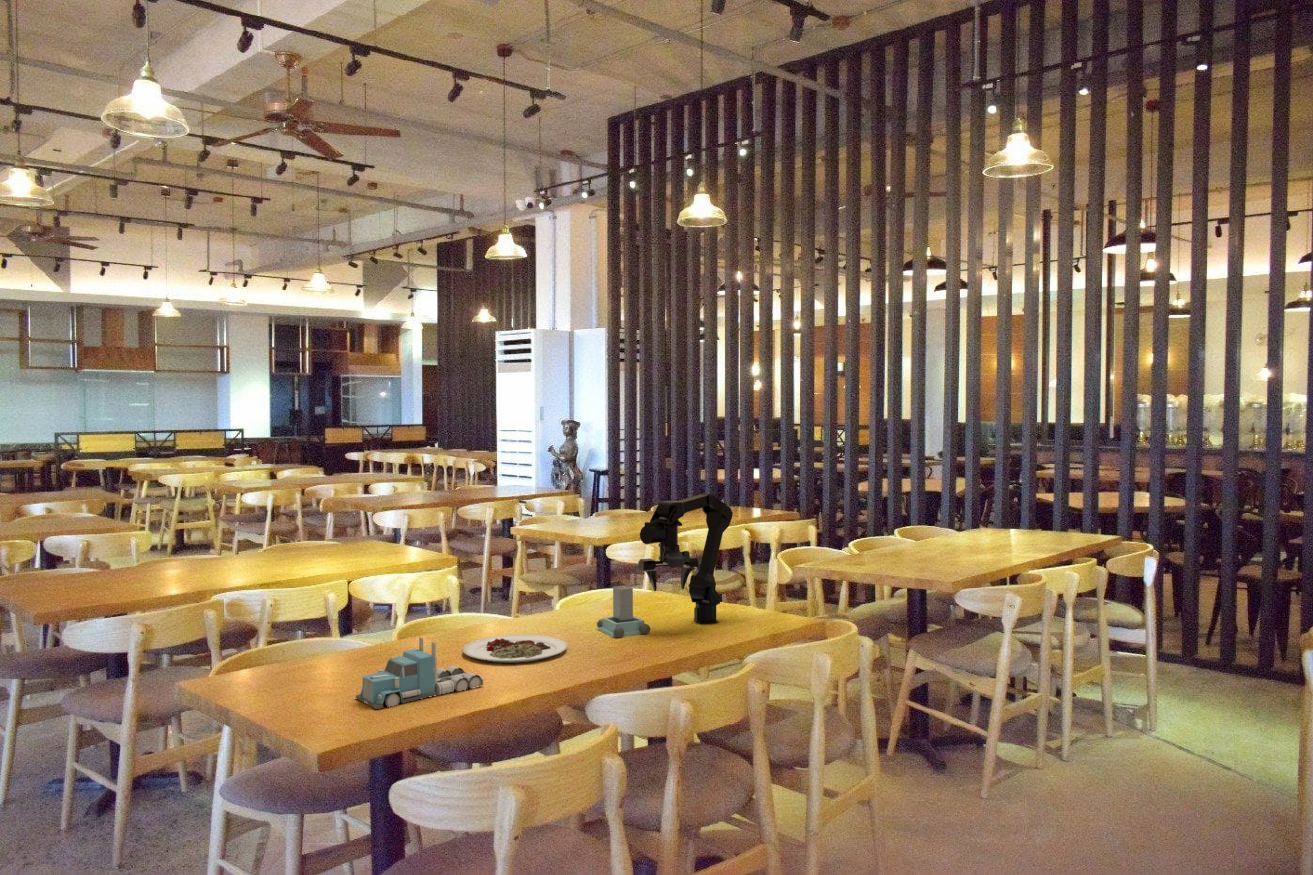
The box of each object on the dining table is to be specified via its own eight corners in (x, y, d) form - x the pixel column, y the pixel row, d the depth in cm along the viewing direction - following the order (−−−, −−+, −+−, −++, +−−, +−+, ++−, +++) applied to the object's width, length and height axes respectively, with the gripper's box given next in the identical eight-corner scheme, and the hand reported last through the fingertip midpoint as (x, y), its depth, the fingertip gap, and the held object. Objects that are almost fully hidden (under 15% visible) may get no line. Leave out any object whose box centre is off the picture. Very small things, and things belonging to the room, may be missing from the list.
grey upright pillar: (626, 626, 306) (625, 585, 306) (632, 629, 302) (632, 588, 302) (613, 627, 304) (613, 587, 304) (620, 631, 300) (619, 589, 300)
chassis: (631, 625, 312) (631, 613, 312) (650, 634, 300) (650, 621, 300) (596, 629, 306) (596, 617, 306) (614, 638, 294) (614, 625, 294)
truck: (354, 700, 234) (353, 639, 233) (459, 678, 253) (459, 622, 252) (376, 712, 225) (375, 648, 224) (483, 688, 244) (483, 629, 243)
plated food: (548, 669, 261) (548, 656, 261) (445, 663, 267) (445, 651, 267) (579, 643, 290) (579, 631, 290) (486, 638, 296) (486, 627, 296)
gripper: (649, 545, 293) (649, 596, 293) (705, 542, 299) (705, 592, 299) (637, 541, 303) (637, 590, 304) (692, 538, 309) (692, 586, 310)
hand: (668, 590), depth 304 cm, fingers open, 9 cm apart
